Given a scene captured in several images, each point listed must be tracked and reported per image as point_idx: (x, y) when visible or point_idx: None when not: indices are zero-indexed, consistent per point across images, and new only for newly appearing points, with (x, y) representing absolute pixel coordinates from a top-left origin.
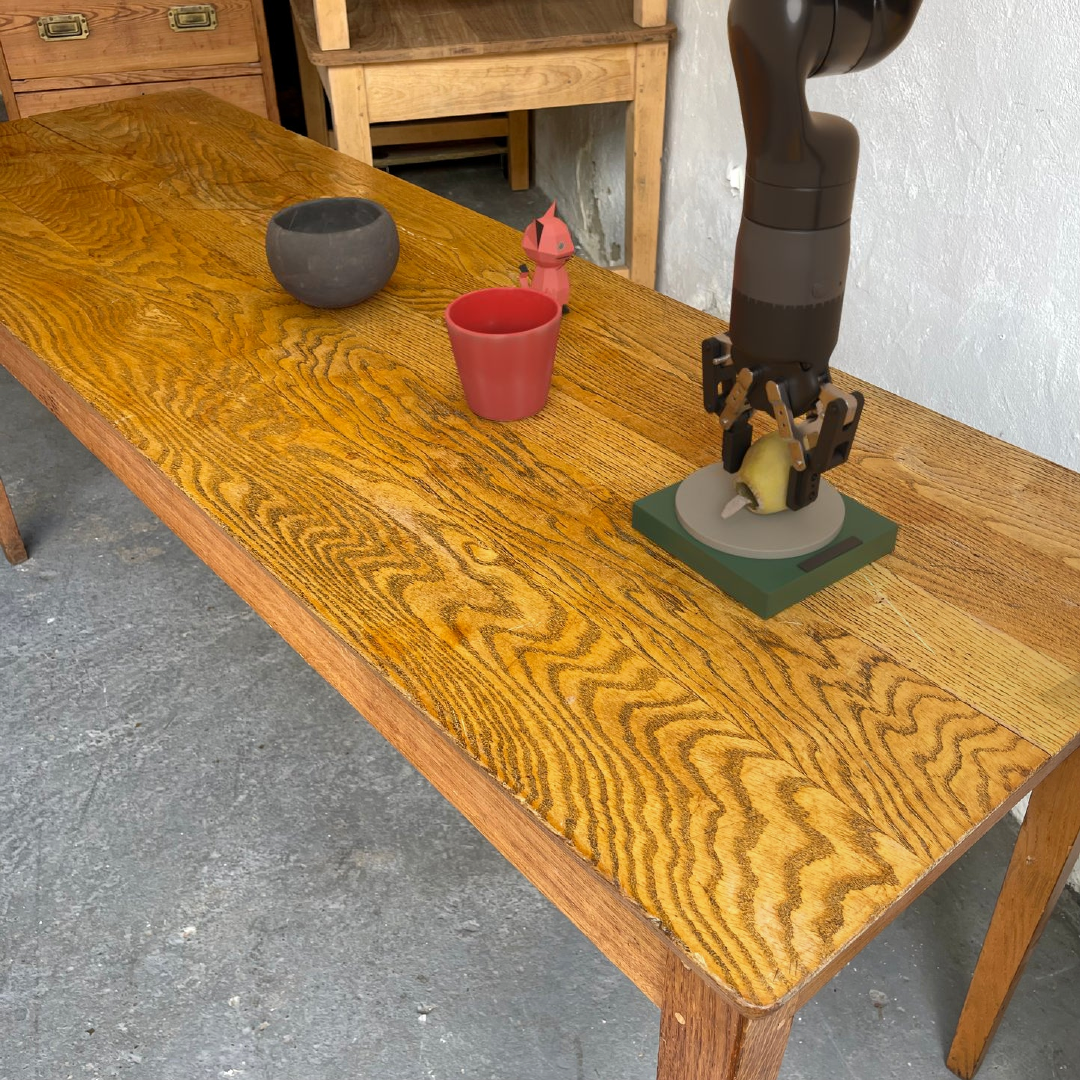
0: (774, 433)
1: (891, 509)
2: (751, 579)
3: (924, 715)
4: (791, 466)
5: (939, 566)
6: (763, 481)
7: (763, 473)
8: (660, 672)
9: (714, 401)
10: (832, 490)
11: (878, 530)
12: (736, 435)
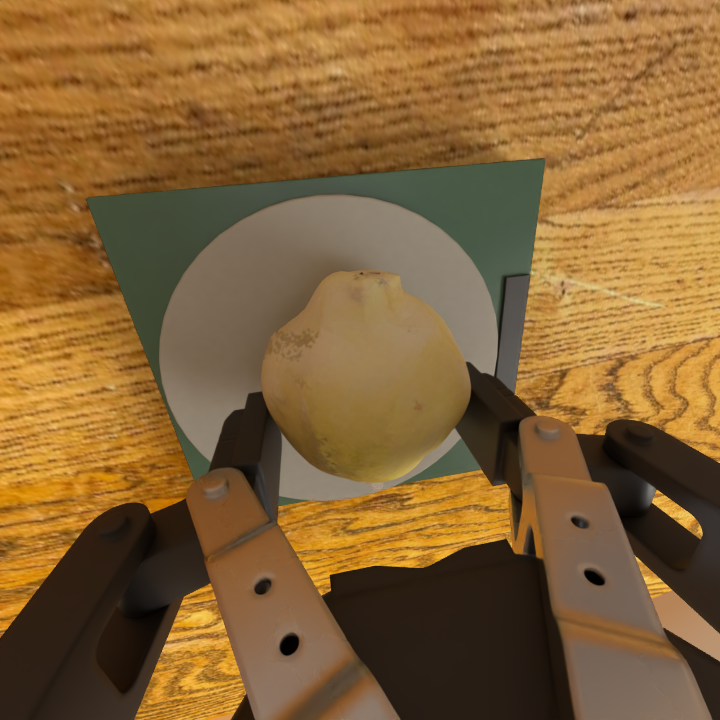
0: (351, 451)
1: (415, 27)
2: (469, 467)
3: (688, 384)
4: (495, 484)
5: (590, 125)
6: (412, 468)
7: (403, 470)
8: (467, 545)
9: (170, 625)
10: (394, 217)
11: (526, 216)
12: (274, 505)
